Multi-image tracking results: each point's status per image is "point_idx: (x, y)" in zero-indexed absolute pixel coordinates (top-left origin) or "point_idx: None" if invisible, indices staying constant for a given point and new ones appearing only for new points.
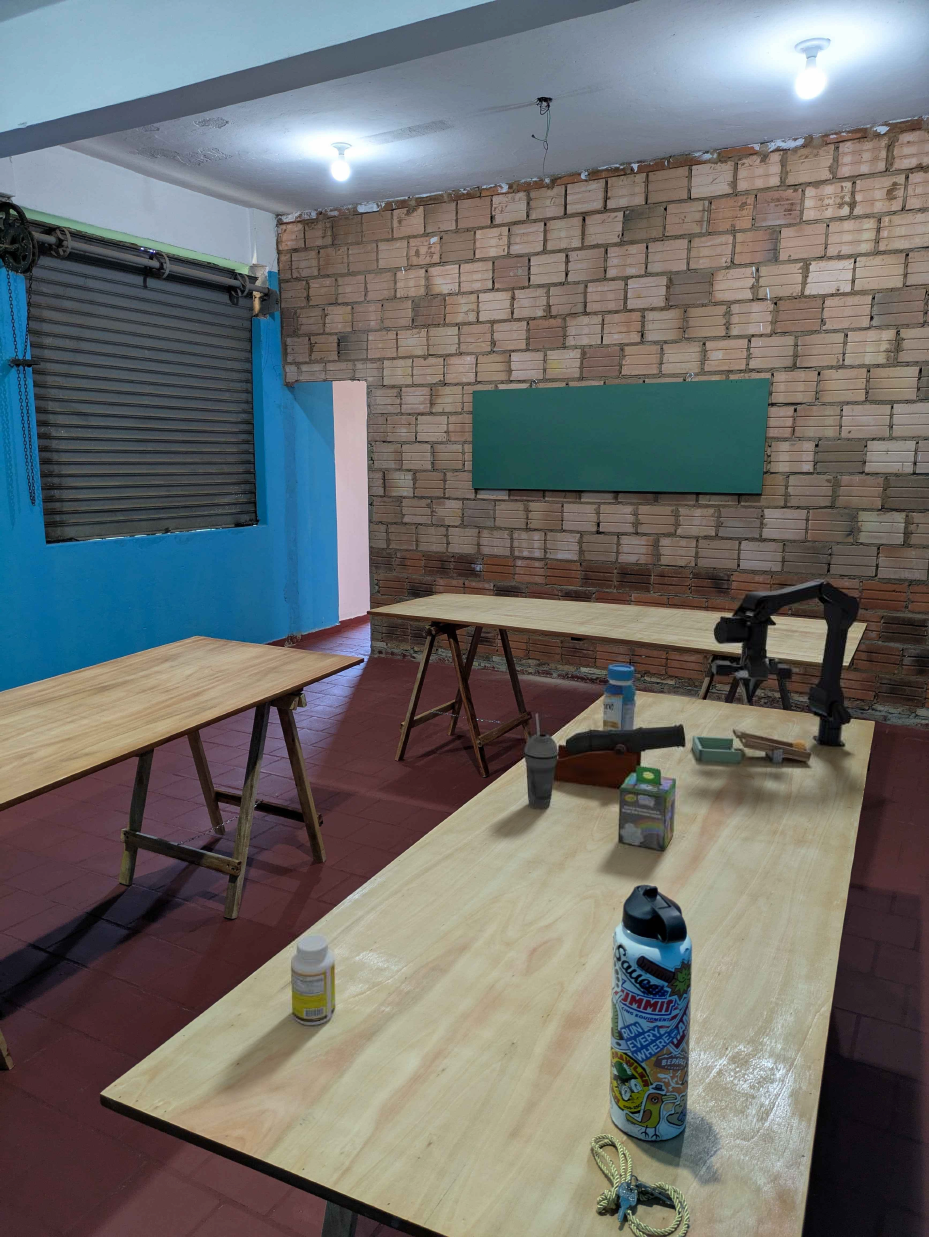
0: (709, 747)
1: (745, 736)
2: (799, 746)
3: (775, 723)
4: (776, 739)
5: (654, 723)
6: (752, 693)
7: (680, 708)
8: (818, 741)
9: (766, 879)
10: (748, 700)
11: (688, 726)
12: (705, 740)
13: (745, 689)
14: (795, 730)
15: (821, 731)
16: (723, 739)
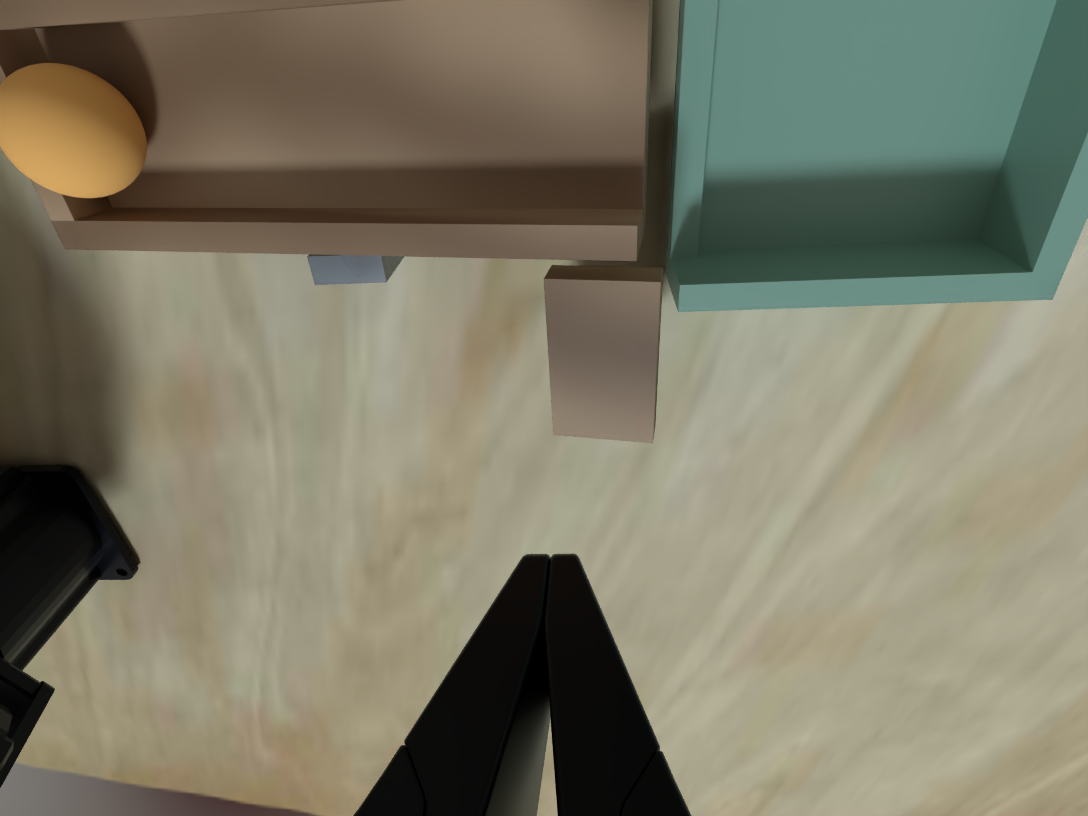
0: (861, 244)
1: (593, 213)
2: (45, 70)
3: (345, 709)
4: (287, 237)
5: (1019, 645)
6: (489, 703)
7: (768, 809)
8: (84, 494)
9: None
10: (563, 585)
11: (825, 629)
12: (928, 263)
13: (671, 796)
14: (245, 645)
15: (30, 551)
16: (767, 279)
